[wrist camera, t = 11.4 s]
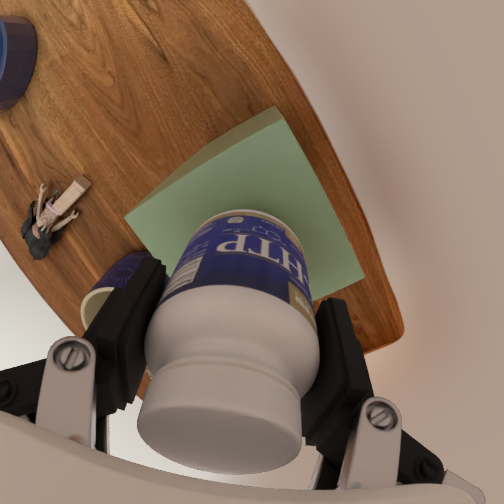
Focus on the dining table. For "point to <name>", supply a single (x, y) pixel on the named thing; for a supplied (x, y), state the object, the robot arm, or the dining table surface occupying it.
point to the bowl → (15, 58)
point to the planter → (111, 284)
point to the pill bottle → (232, 349)
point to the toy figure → (50, 218)
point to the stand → (249, 199)
